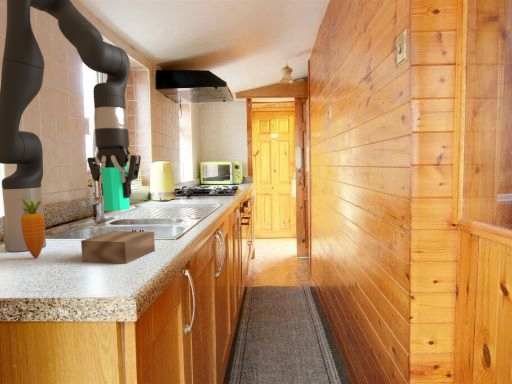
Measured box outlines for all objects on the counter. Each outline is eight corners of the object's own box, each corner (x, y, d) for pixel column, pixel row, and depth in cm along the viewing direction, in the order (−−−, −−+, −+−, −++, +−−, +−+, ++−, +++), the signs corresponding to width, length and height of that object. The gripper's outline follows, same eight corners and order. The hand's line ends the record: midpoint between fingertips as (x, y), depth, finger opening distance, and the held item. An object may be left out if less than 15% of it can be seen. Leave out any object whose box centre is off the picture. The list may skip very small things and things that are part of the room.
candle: (132, 207, 89) (129, 160, 88) (126, 210, 83) (122, 159, 82) (108, 208, 88) (105, 161, 87) (100, 211, 82) (96, 160, 81)
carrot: (52, 256, 89) (47, 197, 88) (34, 261, 84) (28, 199, 83) (37, 255, 90) (32, 197, 89) (19, 260, 86) (13, 199, 85)
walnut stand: (82, 261, 82) (81, 240, 82) (115, 249, 94) (114, 231, 93) (126, 263, 79) (124, 241, 79) (154, 250, 90) (153, 231, 90)
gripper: (146, 127, 86) (150, 196, 87) (97, 131, 90) (102, 197, 91) (127, 124, 79) (132, 199, 80) (75, 128, 82) (81, 200, 84)
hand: (116, 197), depth 85 cm, fingers closed on candle, 4 cm apart
